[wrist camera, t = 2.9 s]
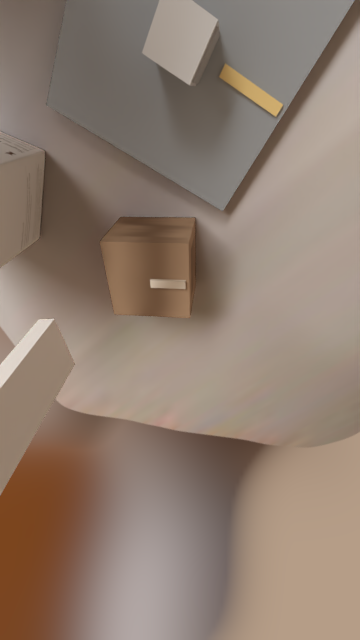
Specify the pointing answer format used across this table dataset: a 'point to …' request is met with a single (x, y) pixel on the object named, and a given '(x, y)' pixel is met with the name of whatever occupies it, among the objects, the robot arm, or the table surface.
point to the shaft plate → (173, 106)
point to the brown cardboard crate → (151, 266)
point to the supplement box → (19, 195)
